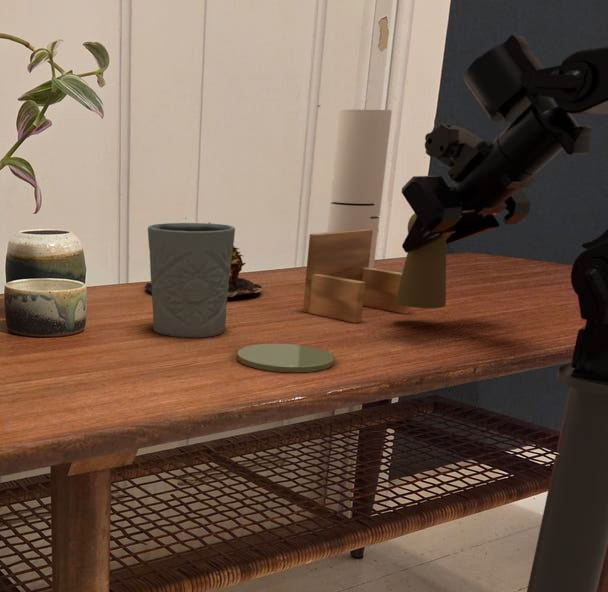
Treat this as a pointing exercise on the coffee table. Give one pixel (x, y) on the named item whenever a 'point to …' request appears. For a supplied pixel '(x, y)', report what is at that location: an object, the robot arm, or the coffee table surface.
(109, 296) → the coffee table surface
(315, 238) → the rack
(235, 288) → the cactus
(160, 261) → the grey embossed cup
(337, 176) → the cylindrical container
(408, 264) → the olive tapered shaker
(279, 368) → the coaster
